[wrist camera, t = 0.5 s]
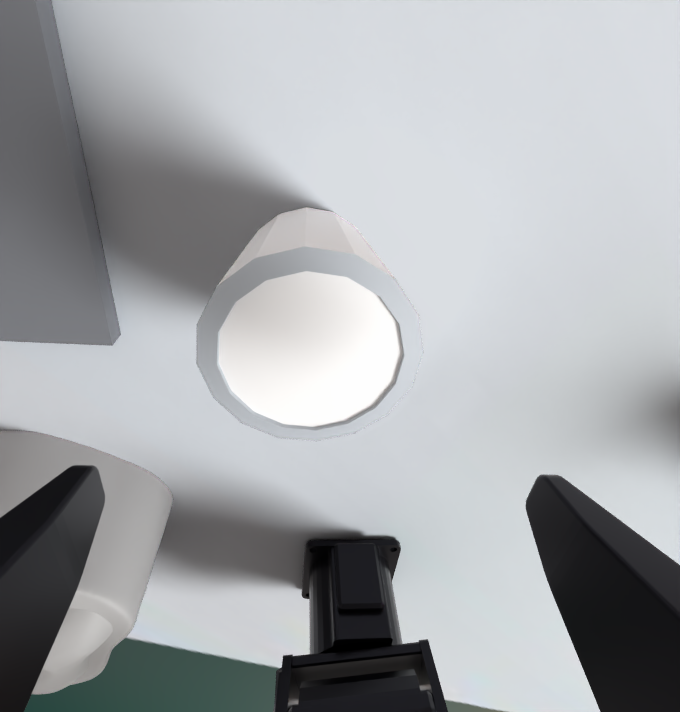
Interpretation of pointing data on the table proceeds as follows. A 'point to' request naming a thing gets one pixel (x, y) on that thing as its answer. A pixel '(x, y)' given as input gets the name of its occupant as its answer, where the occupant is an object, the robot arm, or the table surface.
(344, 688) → the robot arm
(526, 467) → the table surface
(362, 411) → the shot glass
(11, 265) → the charcoal mat
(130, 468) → the lumpy-topped squat cylinder
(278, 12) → the table surface
